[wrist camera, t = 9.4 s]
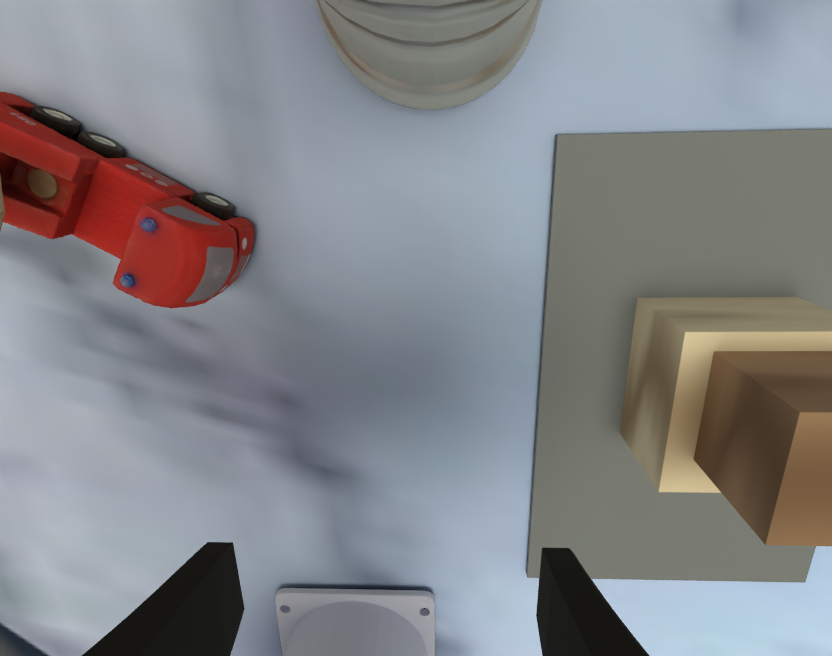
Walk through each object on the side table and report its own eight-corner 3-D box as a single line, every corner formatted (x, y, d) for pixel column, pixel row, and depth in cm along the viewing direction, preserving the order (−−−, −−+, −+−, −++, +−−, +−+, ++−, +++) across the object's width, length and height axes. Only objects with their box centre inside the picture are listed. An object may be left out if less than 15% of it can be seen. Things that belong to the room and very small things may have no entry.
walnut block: (813, 460, 17) (920, 547, 13) (693, 459, 17) (765, 545, 13) (844, 350, 16) (972, 413, 12) (713, 351, 16) (799, 412, 12)
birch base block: (763, 433, 21) (834, 493, 17) (619, 432, 21) (658, 492, 18) (796, 296, 19) (883, 331, 15) (637, 297, 20) (685, 331, 16)
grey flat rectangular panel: (800, 577, 24) (805, 582, 24) (526, 572, 25) (527, 577, 24) (933, 127, 17) (941, 126, 17) (555, 135, 18) (557, 134, 18)
